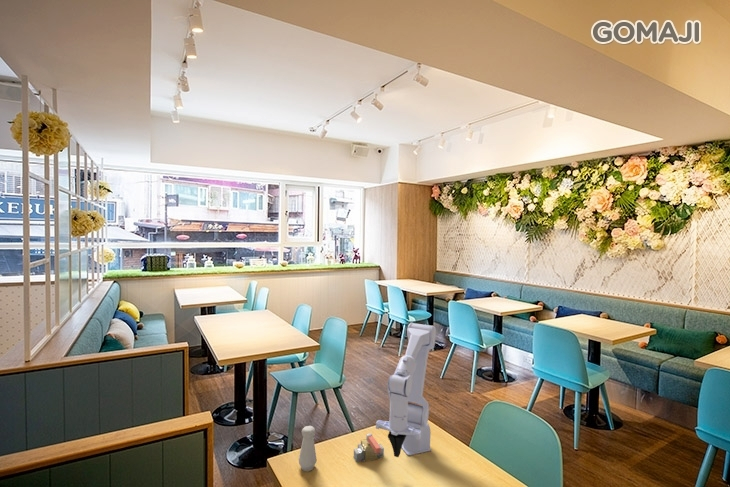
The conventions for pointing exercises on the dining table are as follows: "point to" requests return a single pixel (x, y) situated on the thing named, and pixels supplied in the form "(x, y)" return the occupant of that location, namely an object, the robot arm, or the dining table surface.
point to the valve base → (366, 452)
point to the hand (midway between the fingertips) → (397, 455)
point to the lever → (373, 443)
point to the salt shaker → (307, 449)
